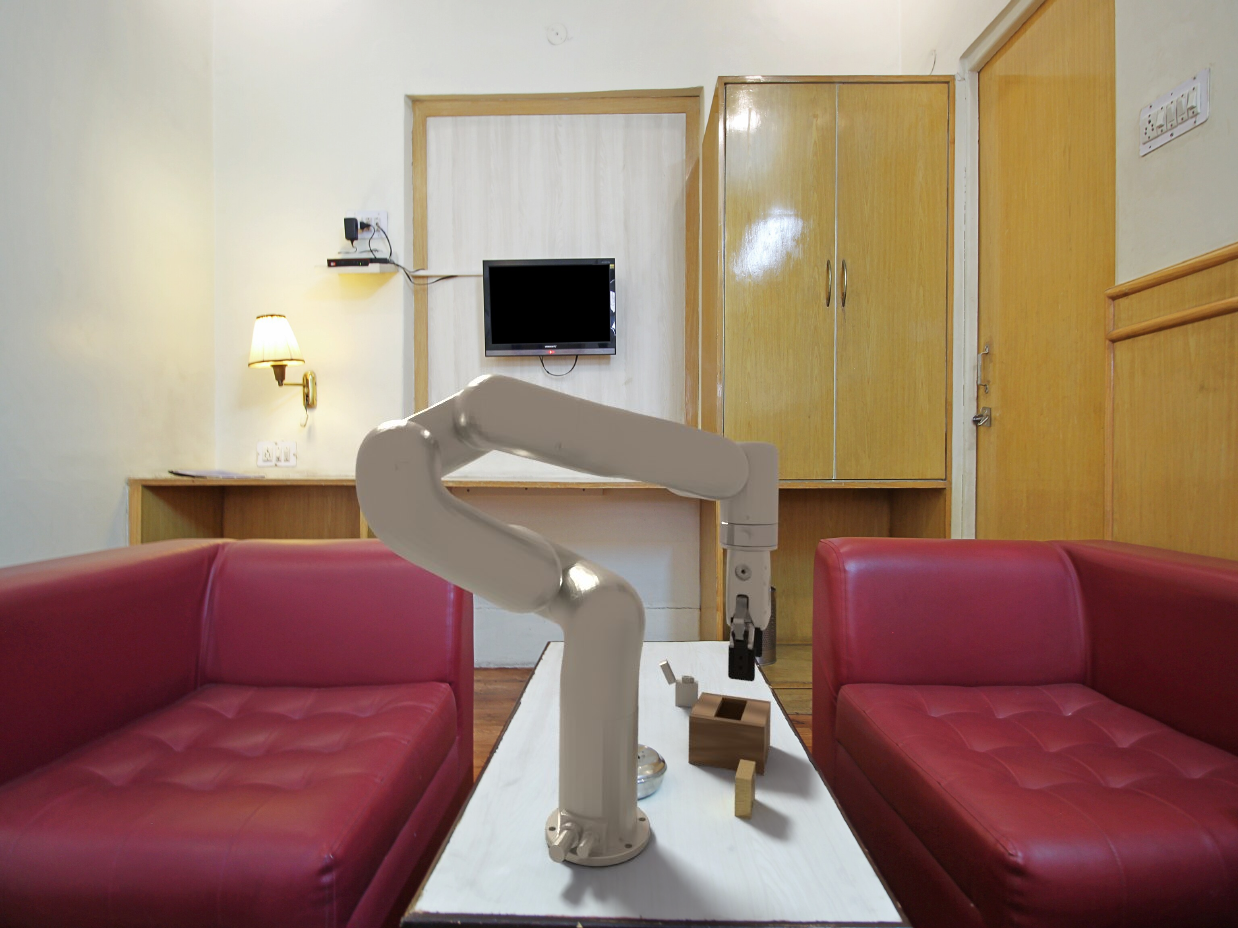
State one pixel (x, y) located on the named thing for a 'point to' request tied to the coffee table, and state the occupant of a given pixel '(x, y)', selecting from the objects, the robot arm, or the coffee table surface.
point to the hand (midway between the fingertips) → (746, 666)
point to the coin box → (729, 731)
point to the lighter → (681, 687)
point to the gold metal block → (745, 789)
